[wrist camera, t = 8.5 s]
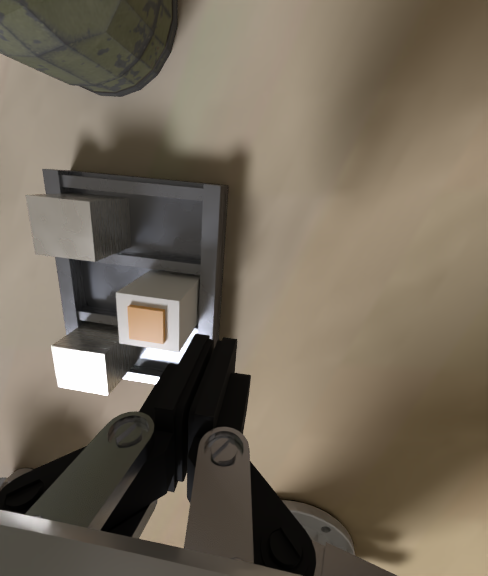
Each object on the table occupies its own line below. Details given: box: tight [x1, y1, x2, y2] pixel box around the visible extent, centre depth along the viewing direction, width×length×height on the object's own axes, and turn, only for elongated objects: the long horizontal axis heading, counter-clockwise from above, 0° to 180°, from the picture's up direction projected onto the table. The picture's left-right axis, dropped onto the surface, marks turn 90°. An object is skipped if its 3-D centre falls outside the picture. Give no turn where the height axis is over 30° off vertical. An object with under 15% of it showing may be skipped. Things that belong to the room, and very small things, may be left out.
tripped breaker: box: [116, 270, 200, 353], centre depth 18 cm, size 4×3×5 cm
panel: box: [26, 169, 228, 396], centre depth 19 cm, size 11×15×5 cm
